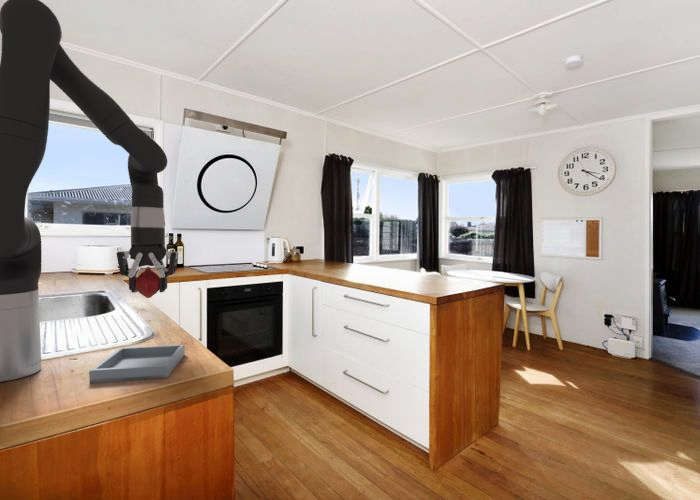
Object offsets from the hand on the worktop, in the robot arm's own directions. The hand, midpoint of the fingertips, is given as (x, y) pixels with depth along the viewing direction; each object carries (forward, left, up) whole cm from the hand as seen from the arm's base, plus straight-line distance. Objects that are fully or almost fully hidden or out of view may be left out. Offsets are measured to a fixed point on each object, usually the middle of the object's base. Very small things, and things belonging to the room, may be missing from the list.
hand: (148, 291), depth 92 cm
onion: (0, 0, -2) cm, 2 cm away
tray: (+3, -15, -14) cm, 21 cm away
